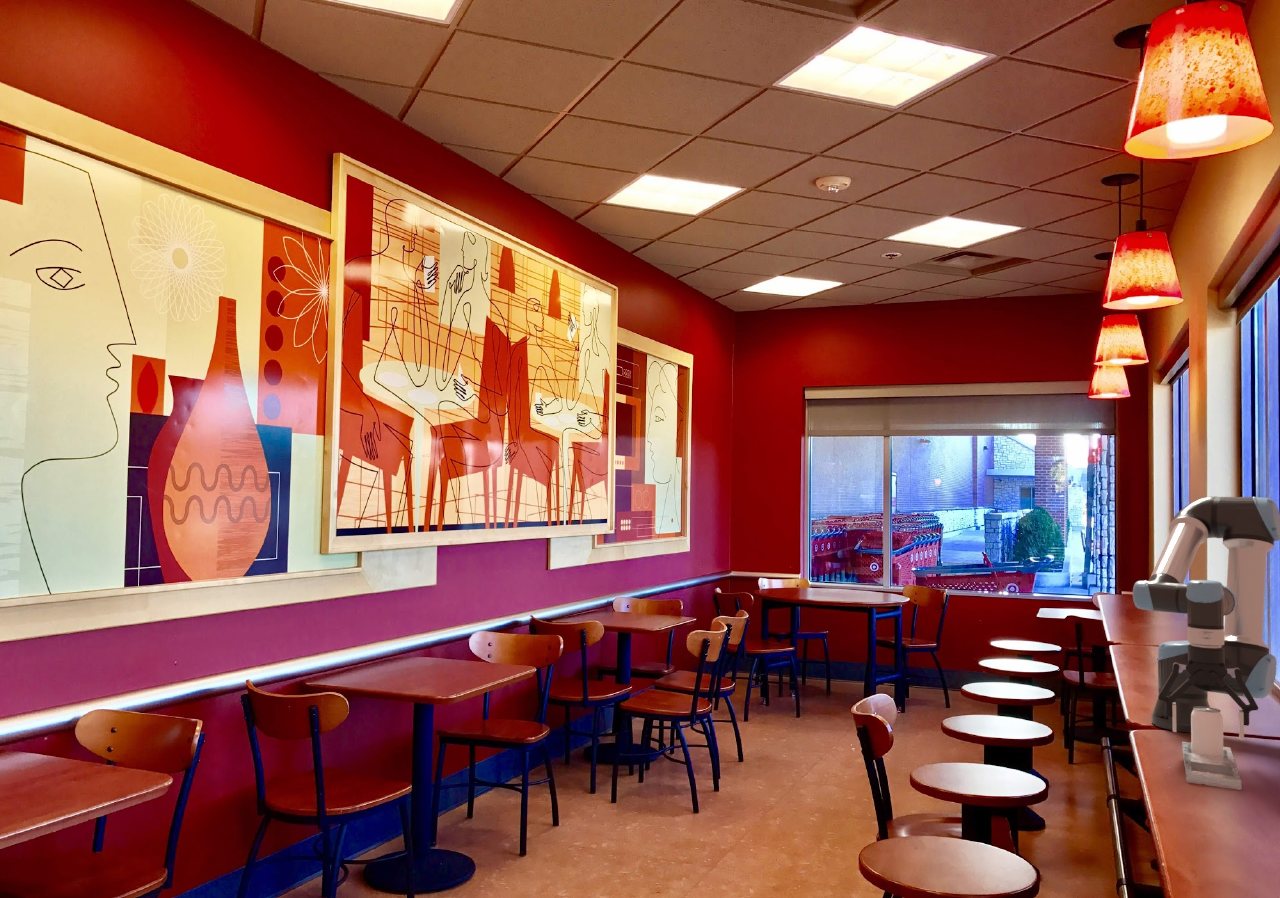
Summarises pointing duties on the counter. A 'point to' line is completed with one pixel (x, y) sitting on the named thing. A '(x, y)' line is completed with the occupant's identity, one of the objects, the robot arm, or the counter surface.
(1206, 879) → the counter surface
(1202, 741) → the can
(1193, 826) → the counter surface
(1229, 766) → the holder
